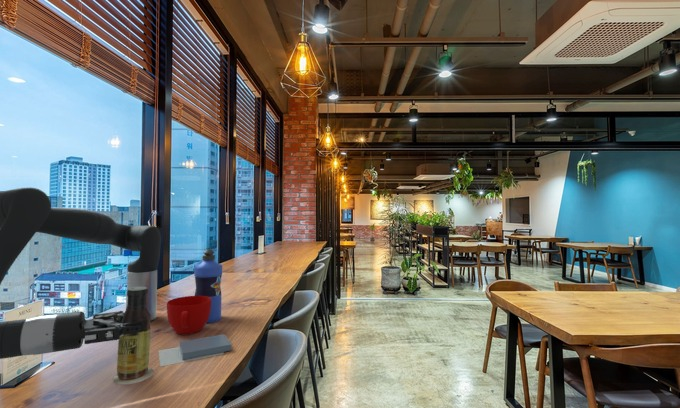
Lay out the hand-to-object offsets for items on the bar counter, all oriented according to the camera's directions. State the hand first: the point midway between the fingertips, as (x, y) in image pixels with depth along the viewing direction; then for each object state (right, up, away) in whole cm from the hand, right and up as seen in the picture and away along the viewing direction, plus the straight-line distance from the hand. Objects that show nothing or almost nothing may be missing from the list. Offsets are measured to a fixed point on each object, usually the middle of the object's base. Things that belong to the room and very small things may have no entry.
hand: (144, 320), depth 78 cm
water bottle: (-1, -14, +41) cm, 44 cm away
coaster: (-2, -12, -1) cm, 13 cm away
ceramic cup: (-2, -14, +26) cm, 30 cm away
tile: (+3, -12, +11) cm, 16 cm away
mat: (+6, -13, +12) cm, 18 cm away
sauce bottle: (-2, -12, -1) cm, 12 cm away
